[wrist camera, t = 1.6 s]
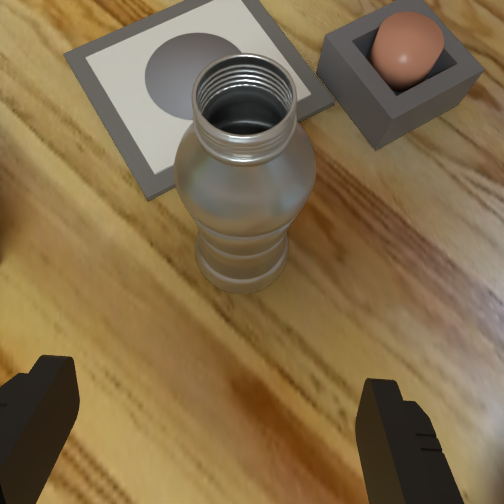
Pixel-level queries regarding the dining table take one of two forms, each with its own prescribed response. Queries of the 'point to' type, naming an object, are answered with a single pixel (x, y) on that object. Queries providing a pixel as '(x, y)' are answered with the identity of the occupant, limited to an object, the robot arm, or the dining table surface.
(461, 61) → the button housing
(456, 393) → the dining table surface
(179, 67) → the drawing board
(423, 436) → the robot arm
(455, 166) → the dining table surface
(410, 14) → the button
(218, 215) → the plastic bottle
